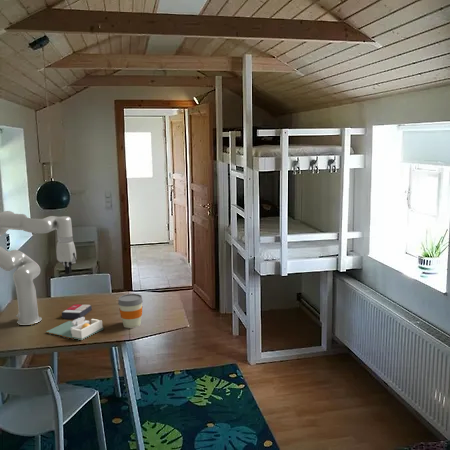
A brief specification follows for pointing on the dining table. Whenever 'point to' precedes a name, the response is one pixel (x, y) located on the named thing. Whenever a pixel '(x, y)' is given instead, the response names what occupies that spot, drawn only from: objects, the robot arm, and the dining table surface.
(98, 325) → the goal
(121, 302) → the reusable coffee cup
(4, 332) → the dining table surface
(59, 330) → the pitch
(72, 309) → the calculator
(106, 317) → the dining table surface
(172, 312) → the dining table surface
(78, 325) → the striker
